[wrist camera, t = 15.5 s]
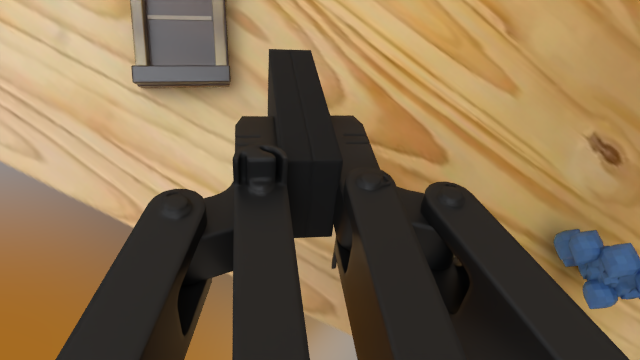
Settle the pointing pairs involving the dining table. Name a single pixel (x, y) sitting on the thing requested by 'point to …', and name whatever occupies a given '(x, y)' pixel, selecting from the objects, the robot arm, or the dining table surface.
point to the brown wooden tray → (180, 43)
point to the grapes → (601, 266)
